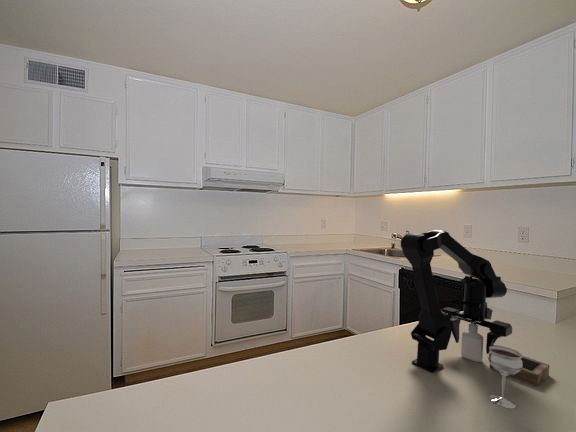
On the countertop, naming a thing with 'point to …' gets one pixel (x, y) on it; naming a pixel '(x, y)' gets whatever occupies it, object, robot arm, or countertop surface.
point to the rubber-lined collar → (531, 371)
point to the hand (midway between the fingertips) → (472, 347)
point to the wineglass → (504, 369)
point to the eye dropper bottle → (472, 344)
